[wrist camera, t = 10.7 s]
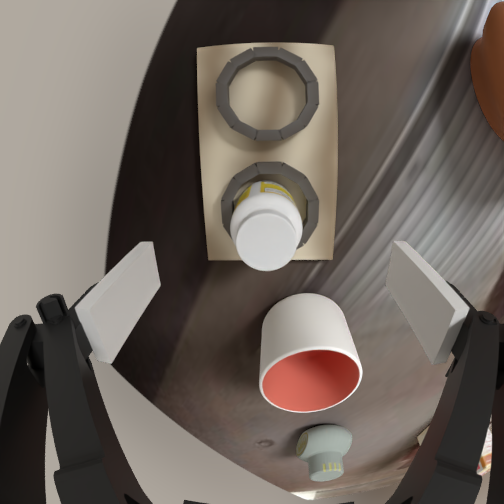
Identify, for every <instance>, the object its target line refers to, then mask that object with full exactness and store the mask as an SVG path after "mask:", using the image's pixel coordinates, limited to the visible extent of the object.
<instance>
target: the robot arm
mask: <svg viewBox="0 0 504 504" xmlns="http://www.w3.org/2000/svg"><path fill="white" fill-rule="evenodd" d="M160 286H161V284H160V279H159V274H158V269H157V264H156V258H155V252H154V247H153V242H140V243H139V244H138V245H137V246H136V247H135V248H134V249H132V250H131V251H130V252H129V253H128V254H127V255H126V256H125V257H124V258H123V259H122V260H121V261H120V262H119V263H118V264H117V265H116V266H115V267H114V268H113V269H112V270H111V271H110V272H109V273H108V274H107V275H106V276H105V277H104V278H103V279H102V280H101V281H100V282H98V283H96V284H94V285H93V286H91V287H90V288H89V289H88V290H87V291H86V292H85V294H83V295H82V296H81V297H80V299H78V300H77V301H76V302H75V303H74V305H73V306H72V307H71V308H70V309H69V310H68V308H67V306H66V303H65V300H64V298H63V295H61V294H52V295H48V296H46V297H44V298H43V299H41V300H40V301H39V302H38V303H37V305H36V308H37V310H38V313H39V315H40V317H41V319H42V322H43V324H34V322H33V320H32V318H31V316H30V315H20V316H18V317H16V318H15V319H14V320H13V321H12V322H11V323H10V325H9V327H8V329H7V331H6V333H5V335H4V337H3V340H2V342H1V344H0V504H46V493H45V441H46V427H47V416H48V409H49V416H50V422H51V428H52V433H53V438H54V443H55V447H56V451H57V456H58V460H59V464H60V470H57V471H55V472H54V481H55V485H56V489H57V492H58V495H59V498H60V501H61V504H152V502H151V501H150V500H149V499H148V497H147V496H146V495H145V493H144V492H143V490H142V489H141V487H140V485H139V483H138V481H137V479H136V477H135V475H134V473H133V471H132V469H131V467H130V466H129V464H128V461H127V459H126V457H125V455H124V453H123V450H122V448H121V446H120V444H119V441H118V439H117V437H116V434H115V432H114V429H113V427H112V424H111V421H110V419H109V416H108V413H107V411H106V408H105V405H104V402H103V399H102V396H101V393H100V390H99V387H98V384H97V381H96V377H95V374H94V370H93V367H92V363H91V361H90V359H89V357H88V356H89V355H90V353H91V352H92V351H93V353H94V355H95V357H96V359H97V361H100V362H105V363H110V364H112V362H113V360H114V359H115V357H116V355H117V354H118V352H119V350H120V349H121V347H122V345H123V344H124V342H125V341H126V339H127V337H128V336H129V334H130V332H131V331H132V329H133V328H134V326H135V324H136V323H137V321H138V320H139V318H140V317H141V315H142V313H143V312H144V310H145V309H146V307H147V306H148V304H149V302H150V301H151V299H152V298H153V296H154V295H155V293H156V292H157V290H158V289H159V287H160ZM385 286H386V287H387V289H388V290H389V292H390V294H391V295H392V297H393V298H394V300H395V301H396V303H397V305H398V306H399V308H400V310H401V311H402V313H403V315H404V316H405V318H406V320H407V321H408V323H409V325H410V326H411V328H412V330H413V332H414V333H415V335H416V337H417V339H418V340H419V342H420V344H421V346H422V347H423V349H424V351H425V353H426V355H427V357H428V358H429V360H430V362H431V364H432V365H435V364H440V363H445V362H446V361H447V359H448V357H449V355H450V353H451V351H452V353H453V354H454V356H455V358H454V360H453V362H452V364H451V366H450V368H449V370H448V372H447V373H446V375H445V376H446V377H447V376H448V378H447V381H446V384H445V387H444V390H443V393H442V395H441V398H440V401H439V404H438V406H437V409H436V411H435V414H434V416H433V419H432V421H431V424H430V426H429V428H428V430H427V433H426V435H425V437H424V439H423V441H422V444H421V446H420V448H419V450H418V452H417V454H416V456H415V458H414V460H413V461H412V463H411V465H410V467H409V469H408V471H407V472H406V474H405V476H404V478H403V479H402V481H401V483H400V484H399V486H398V488H397V489H396V491H395V493H394V494H393V495H392V496H391V498H390V499H389V500H388V501H387V502H386V503H385V504H474V503H475V500H476V497H477V495H478V492H479V490H480V487H481V483H482V475H479V474H477V467H478V464H479V461H480V458H481V454H482V451H483V447H484V443H485V439H486V435H487V431H488V427H489V422H490V417H491V414H492V456H491V471H490V482H489V489H488V496H487V503H486V504H504V324H499V321H498V320H497V318H496V317H495V316H494V315H492V314H490V313H488V312H485V311H477V310H476V309H475V308H474V307H473V306H472V305H471V304H470V302H469V301H468V300H467V299H466V298H464V296H463V295H462V294H461V293H460V291H459V290H458V289H457V288H456V287H455V286H454V285H452V284H450V283H449V282H447V281H445V280H444V279H443V278H442V277H441V276H440V275H439V274H438V273H437V272H436V271H435V270H434V269H433V268H432V267H431V266H430V265H429V264H428V263H427V262H426V261H425V260H424V259H423V258H422V257H421V256H420V255H419V254H418V253H417V252H416V251H415V250H414V249H413V248H412V247H411V246H410V245H409V244H408V243H407V242H405V241H393V246H392V252H391V258H390V263H389V269H388V274H387V279H386V284H385ZM27 363H28V365H27ZM183 504H206V503H199V502H193V501H188V500H184V503H183ZM341 504H354V502H348V503H341Z"/></svg>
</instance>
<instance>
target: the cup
mask: <svg viewBox="0 0 504 504" xmlns="http://www.w3.org/2000/svg"><path fill="white" fill-rule="evenodd" d="M361 378H362V367H361V363H360V360H359V357H358V354H357V351H356V348H355V345H354V342H353V340H352V337H351V334H350V331H349V328H348V325H347V322H346V320H345V317H344V314H343V312H342V310H341V309H340V308H339V306H338V305H337V304H336V303H335V302H333V301H332V300H331V299H329V298H327V297H325V296H322V295H318V294H313V293H302V294H296V295H292V296H289V297H287V298H285V299H283V300H281V301H280V302H278V303H277V304H275V305H274V306H273V307H272V308H271V309H270V311H269V312H268V313H267V315H266V317H265V319H264V322H263V325H262V338H261V358H260V376H259V387H260V391H261V393H262V395H263V397H264V398H265V399H266V400H267V401H268V402H269V403H271V404H272V405H274V406H275V407H278V408H280V409H283V410H286V411H291V412H315V411H320V410H324V409H327V408H330V407H333V406H335V405H337V404H339V403H341V402H342V401H344V400H345V399H347V398H348V397H349V396H350V395H351V394H352V393H353V392H354V391H355V390H356V389H357V387H358V386H359V384H360V381H361Z"/></svg>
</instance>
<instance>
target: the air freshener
mask: <svg viewBox="0 0 504 504" xmlns="http://www.w3.org/2000/svg"><path fill="white" fill-rule="evenodd" d="M351 443H352V434H351V433H350V431H349V430H347V429H346V428H344V427H341V426H338V425H320V426H316V427H313V428H310V429H308V430H306V431H305V432H303V433H302V435H301V436H300V438H299V440H298V443H297V447H296V455H297V457H298V458H300V459H301V460H303V461H305V462H308V465H309V478H310V479H311V480H313V481H328V480H333V479H336V478H338V477H340V476H341V475H342V474H343V472H344V471H343V463H342V456H344V455H345V454H346V453H347V451H348V450H349V448H350V446H351Z"/></svg>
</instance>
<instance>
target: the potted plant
mask: <svg viewBox="0 0 504 504" xmlns="http://www.w3.org/2000/svg"><path fill="white" fill-rule="evenodd" d="M470 66H471V76H472V81H473V86H474V90H475V93H476V96H477V99H478V102H479V105H480V107H481V109H482V112H483V114H484V116H485V118H486V119H487V121H488V123H489V125H490V126H491V128H492V129H493V130H494V132H495V133H496V134H497V135H498V136H499V137H500V138H501V139H502V140H503V141H504V2H499V3H496V4H495V5H494V6H493V7H492V8H491V10H490V12H489V15H488V17H487V20H486V23H485V25H484V29H483V35H482V37H481V38H480V39H478V40H477V41H476V42H475V44H474V46H473V48H472V52H471V60H470Z"/></svg>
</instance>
